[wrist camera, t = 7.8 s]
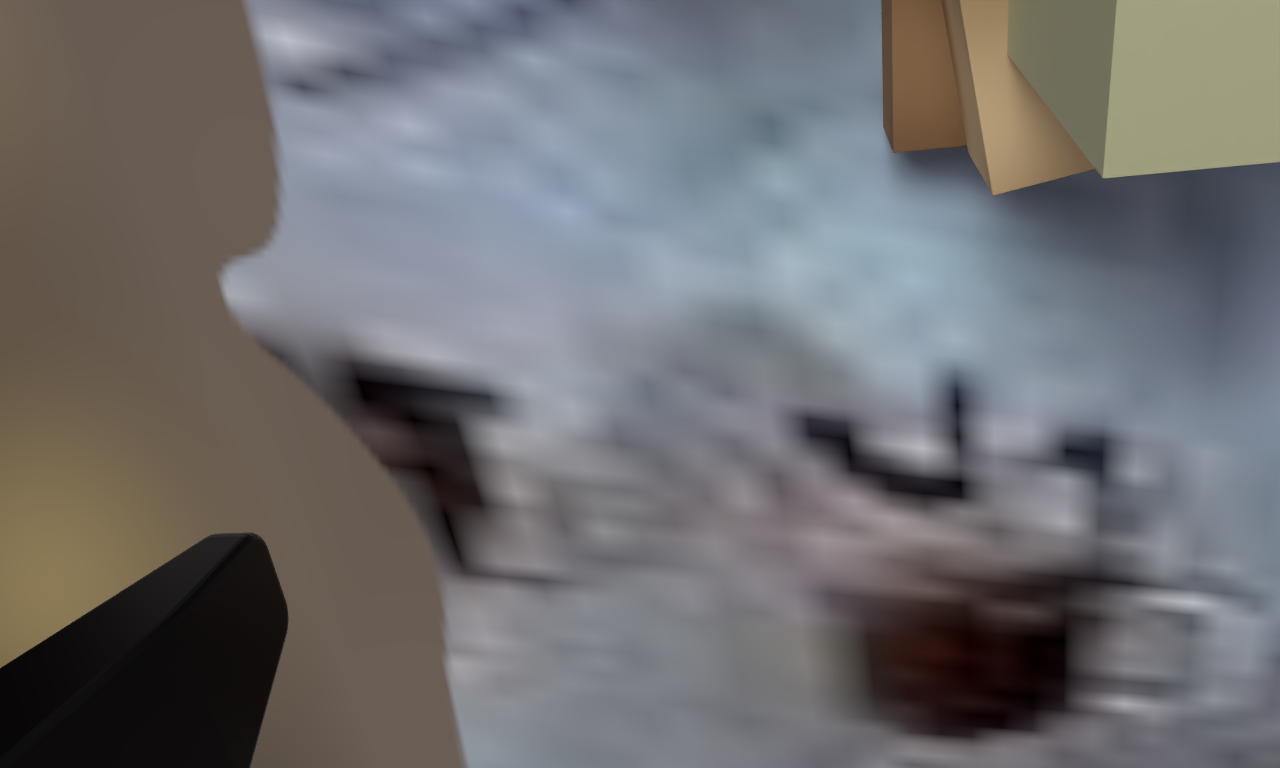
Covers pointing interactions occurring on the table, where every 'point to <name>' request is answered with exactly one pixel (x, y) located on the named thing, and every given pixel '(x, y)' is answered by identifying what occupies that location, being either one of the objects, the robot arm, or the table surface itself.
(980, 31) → the tan flat square slab
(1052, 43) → the pale yellow cube
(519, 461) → the table surface
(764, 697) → the table surface
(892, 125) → the tower base
